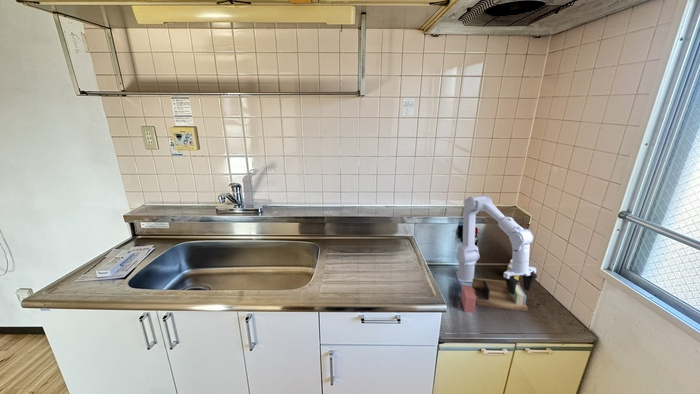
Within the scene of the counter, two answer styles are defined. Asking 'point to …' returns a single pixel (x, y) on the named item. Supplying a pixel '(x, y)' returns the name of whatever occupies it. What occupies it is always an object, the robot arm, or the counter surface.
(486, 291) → the bookend
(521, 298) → the books
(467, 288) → the tall pink block
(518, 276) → the supplement bottle
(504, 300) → the shelf
